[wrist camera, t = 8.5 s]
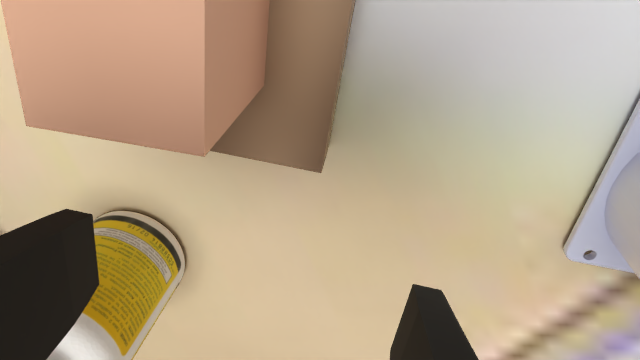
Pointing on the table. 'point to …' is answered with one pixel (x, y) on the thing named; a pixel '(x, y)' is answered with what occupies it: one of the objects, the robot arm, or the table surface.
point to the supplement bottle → (125, 288)
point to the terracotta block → (138, 67)
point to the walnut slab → (295, 86)
